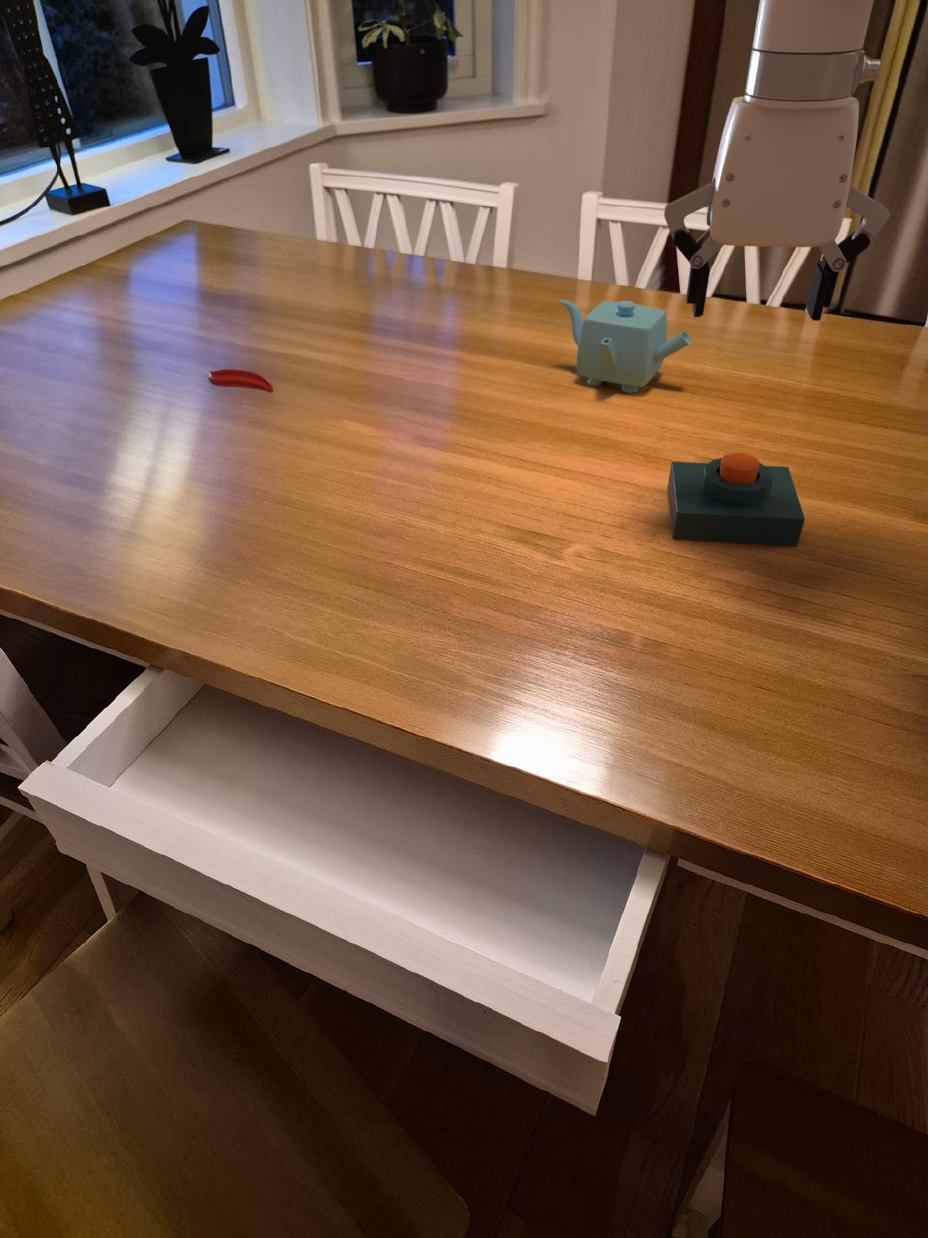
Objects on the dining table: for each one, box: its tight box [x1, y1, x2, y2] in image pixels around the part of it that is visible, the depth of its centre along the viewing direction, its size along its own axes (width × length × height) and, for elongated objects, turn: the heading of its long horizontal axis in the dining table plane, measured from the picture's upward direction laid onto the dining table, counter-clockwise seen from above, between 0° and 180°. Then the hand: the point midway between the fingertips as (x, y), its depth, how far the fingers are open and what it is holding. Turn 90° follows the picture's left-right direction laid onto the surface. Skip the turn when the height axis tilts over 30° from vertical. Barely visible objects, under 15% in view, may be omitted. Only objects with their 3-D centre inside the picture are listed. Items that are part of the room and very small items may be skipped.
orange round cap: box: [719, 452, 761, 484], centre depth 82 cm, size 4×4×2 cm
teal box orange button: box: [667, 457, 806, 547], centre depth 84 cm, size 12×10×5 cm
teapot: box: [559, 299, 692, 393], centre depth 108 cm, size 18×14×10 cm
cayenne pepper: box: [208, 368, 274, 393], centre depth 113 cm, size 12×5×2 cm, turn 50°
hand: (754, 313), depth 72 cm, fingers open, 9 cm apart
